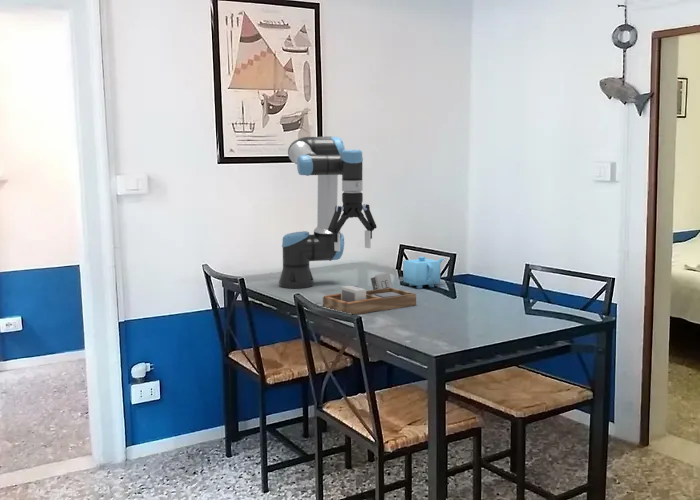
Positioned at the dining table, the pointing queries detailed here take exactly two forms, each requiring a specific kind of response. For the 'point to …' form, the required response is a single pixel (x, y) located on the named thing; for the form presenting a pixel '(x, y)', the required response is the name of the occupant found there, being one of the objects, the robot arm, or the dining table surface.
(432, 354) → the dining table surface
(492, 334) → the dining table surface
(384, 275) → the electrical switch
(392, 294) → the grey module
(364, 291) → the white block
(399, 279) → the dining table surface
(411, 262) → the teapot
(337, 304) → the wooden compartment tray
